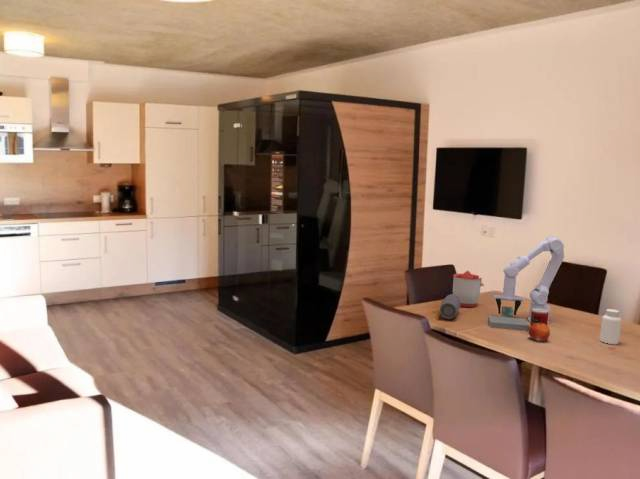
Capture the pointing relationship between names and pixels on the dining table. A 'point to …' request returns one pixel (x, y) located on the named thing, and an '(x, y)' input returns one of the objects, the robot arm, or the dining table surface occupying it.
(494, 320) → the base board
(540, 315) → the canned food
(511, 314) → the teal block
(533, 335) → the tomato
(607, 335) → the pill bottle
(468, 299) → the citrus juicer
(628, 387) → the dining table surface
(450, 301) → the bluetooth speaker
